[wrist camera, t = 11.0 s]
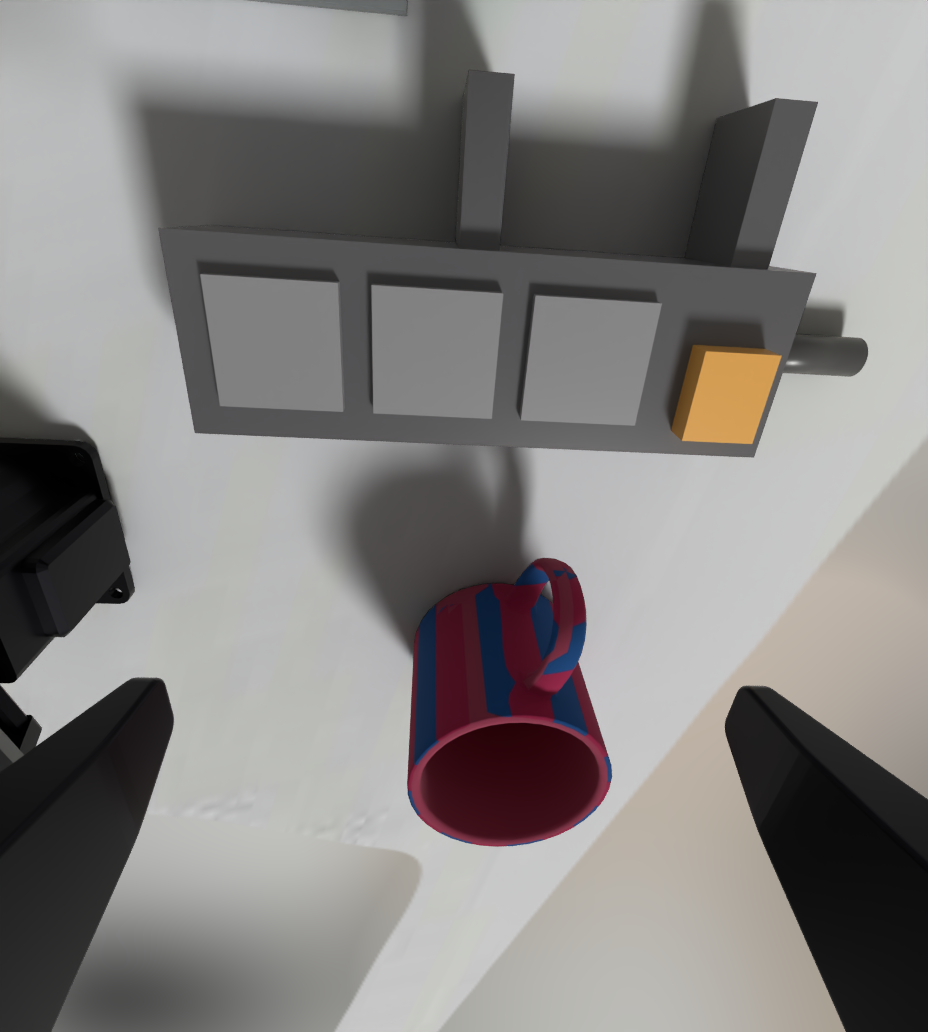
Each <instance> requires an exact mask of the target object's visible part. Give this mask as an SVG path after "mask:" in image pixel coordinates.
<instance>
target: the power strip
mask: <svg viewBox="0 0 928 1032" xmlns="http://www.w3.org/2000/svg"><path fill="white" fill-rule="evenodd" d="M514 75H515V74H509V73H498V72H487V71H476V70H469V73H468V77H467V81H466V85H465V89H464V94H463V106H462V125H461V145H460V164H459V184H458V203H457V223H456V242H445V241H431V240H416V239H402V238H388V237H373V236H359V235H345V234H330V233H316V232H302V231H288V230H273V229H259V228H245V227H230V226H216V225H207V226H188V227H169V228H159V234H160V240H161V245H162V251H163V257H164V262H165V268H166V273H167V279H168V285H169V290H170V296H171V302H172V307H173V313H174V318H175V324H176V330H177V335H178V341H179V347H180V352H181V358H182V363H183V369H184V375H185V380H186V386H187V392H188V397H189V403H190V408H191V414H192V420H193V425H194V431H195V433H206V434H228V435H251V436H274V437H297V438H320V439H343V440H366V441H389V442H412V443H435V444H458V445H480V446H503V447H526V448H549V449H572V450H595V451H618V452H641V453H664V454H687V455H710V456H732V457H754V456H755V453H756V450H757V447H758V444H759V441H760V438H761V435H762V432H763V429H764V426H765V423H766V420H767V417H768V414H769V411H770V409H771V406H772V403H773V400H774V397H775V394H776V391H777V388H778V385H779V382H780V379H781V376H782V373H795V374H813V375H831V376H853V375H855V374H857V373H858V372H859V371H860V370H861V369H862V368H863V366H864V364H865V362H866V360H867V356H868V347H867V344H866V342H865V341H864V340H863V339H861V338H852V337H835V336H819V335H802V334H796V332H797V329H798V326H799V323H800V320H801V317H802V314H803V312H804V309H805V306H806V303H807V300H808V297H809V294H810V291H811V288H812V285H813V282H814V279H815V276H816V273H810V272H804V271H797V270H791V269H785V268H778V267H772V266H769V264H770V261H771V257H772V254H773V251H774V247H775V244H776V241H777V237H778V234H779V231H780V227H781V224H782V221H783V217H784V214H785V211H786V207H787V204H788V201H789V197H790V194H791V191H792V187H793V184H794V181H795V177H796V174H797V171H798V167H799V164H800V161H801V157H802V154H803V151H804V147H805V144H806V141H807V137H808V134H809V131H810V127H811V124H812V121H813V117H814V114H815V111H816V107H817V104H818V102H811V101H801V100H790V99H779V98H775V99H773V100H770V101H767V102H764V103H761V104H758V105H755V106H752V107H749V108H746V109H743V110H740V111H737V112H734V113H731V114H728V115H725V116H722V117H719V118H717V121H716V125H715V129H714V133H713V138H712V142H711V146H710V151H709V155H708V159H707V164H706V168H705V172H704V177H703V181H702V185H701V189H700V194H699V198H698V202H697V207H696V211H695V215H694V220H693V224H692V228H691V233H690V237H689V241H688V245H687V250H686V254H685V258H674V257H659V256H645V255H631V254H617V253H602V252H588V251H574V250H559V249H545V248H531V247H516V246H502V245H500V238H501V226H502V215H503V203H504V192H505V180H506V168H507V157H508V145H509V133H510V122H511V110H512V98H513V87H514Z"/></svg>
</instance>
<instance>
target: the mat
mask: <svg viewBox="0 0 928 1032" xmlns="http://www.w3.org/2000/svg"><path fill="white" fill-rule="evenodd" d="M249 1H260V2H270V3H280V4H290V5H300V6H310V7H320V8H330V9H341V10H351V11H361V12H371V13H381V14H391V15H401V16H407V0H249Z"/></svg>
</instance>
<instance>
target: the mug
mask: <svg viewBox="0 0 928 1032" xmlns="http://www.w3.org/2000/svg"><path fill="white" fill-rule="evenodd" d="M548 581H550V584H551V589H552V596H553V603H552V602H551V601H549V600H548V599H546V598H545V597H544V596H542V595H541V594H540V593H541V591H542V590H543V588H544V586H545V584H546V583H547V582H548ZM585 635H586V608H585V601H584V597H583V593H582V589H581V586H580V583H579V581H578V578H577V576H576V574H575V573H574V571H573V570H572V568H571V567H570V566H568V565H567V564H566V563H564V562H561V561H559V560H557V559H552V558H540V559H537V560H535V561H534V562H532V563H531V564H530V565H529V566H528V567H527V568H526V570H525V571H524V572H523V573H522V574H521V576H520V577H519V579H518V580H517V582H516V583H515V585H510V584H503V583H502V584H483V585H476V586H472V587H469V588H465V589H462V590H459V591H457V592H455V593H453V594H451V595H449V596H447V597H446V598H444V599H443V600H441V601H440V602H438V603H437V604H436V605H435V606H434V607H433V608H432V609H431V610H430V611H428V613H427V614H426V615H425V617H424V618H423V620H422V621H421V623H420V625H419V627H418V629H417V632H416V636H415V641H414V656H413V677H412V698H411V718H410V739H409V760H408V781H407V786H408V796H409V799H410V802H411V805H412V807H413V809H414V810H415V812H416V813H417V815H418V816H419V817H420V818H421V819H422V820H423V821H424V822H425V823H426V824H427V825H429V826H430V827H431V828H433V829H434V830H436V831H437V832H439V833H441V834H444V835H446V836H448V837H450V838H452V839H456V840H459V841H462V842H465V843H470V844H476V845H483V846H516V845H523V844H530V843H534V842H538V841H542V840H545V839H548V838H551V837H554V836H556V835H559V834H561V833H563V832H565V831H567V830H569V829H571V828H573V827H575V826H576V825H578V824H579V823H581V822H582V821H584V820H585V819H586V818H587V817H588V816H589V815H591V814H592V813H593V812H594V811H595V810H596V809H597V807H598V806H599V805H600V804H601V802H602V801H603V800H604V798H605V796H606V794H607V792H608V790H609V787H610V783H611V779H612V769H611V763H610V760H609V757H608V754H607V750H606V747H605V744H604V741H603V738H602V735H601V732H600V728H599V725H598V722H597V719H596V716H595V713H594V710H593V707H592V703H591V700H590V697H589V694H588V691H587V688H586V685H585V681H584V678H583V675H582V672H581V669H580V666H579V663H578V661H579V658H580V656H581V653H582V649H583V646H584V642H585Z"/></svg>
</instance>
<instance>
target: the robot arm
mask: <svg viewBox="0 0 928 1032" xmlns="http://www.w3.org/2000/svg"><path fill="white" fill-rule="evenodd" d="M76 453H79V454H81V455H82V456H83V457H84V459H85V462H83V461H81V460H79V459H78V458H77V456H76ZM129 564H130V558H129V554H128V550H127V547H126V543H125V539H124V535H123V532H122V528H121V524H120V521H119V517H118V513H117V509H116V506H115V505H114V504H113V503H112V501H111V498H110V495H109V491H108V487H107V484H106V480H105V476H104V473H103V469H102V465H101V461H100V458H99V455H98V453H97V451H96V449H95V448H94V447H93V446H91V445H90V444H88V443H86V442H81V441H64V440H41V439H17V438H0V683H13V682H15V681H16V680H17V679H18V678H19V677H20V676H21V674H22V673H23V672H24V671H25V670H26V669H27V668H28V667H29V666H30V664H31V663H32V662H33V661H34V660H35V659H36V658H37V657H38V655H39V654H40V653H41V652H42V651H43V650H44V649H45V648H46V647H47V645H48V644H49V643H50V642H51V641H52V640H53V639H54V638H55V637H65V636H67V635H68V634H69V633H70V632H71V631H72V630H73V629H74V628H75V626H76V625H77V624H78V623H79V622H80V621H81V620H82V618H83V617H84V616H85V615H86V614H87V613H88V611H89V610H90V609H91V608H92V607H93V606H94V605H95V603H109V604H121V603H125V602H127V601H128V600H129V599H130V597H131V596H132V595H133V593H134V592H135V587H134V583H133V580H132V576H131V572H130V569H129ZM115 588H118V589H120V590H121V591H122V592H119V591H117V590H116V589H115ZM173 725H174V716H173V711H172V708H171V704H170V700H169V696H168V693H167V689H166V685H165V683H164V681H163V680H162V679H160V678H132V679H130V680H128V681H127V682H125V683H124V684H122V685H121V686H120V687H118V688H117V689H115V690H114V691H113V692H111V693H110V694H108V695H107V696H106V697H104V698H103V699H102V700H100V701H99V702H97V703H96V704H95V705H93V706H92V707H90V708H89V709H88V710H86V711H85V712H83V713H82V714H81V715H79V716H78V717H76V718H75V719H74V720H72V721H71V722H69V723H68V724H67V725H65V726H64V727H63V728H61V729H60V730H58V731H57V732H56V733H54V734H53V735H51V736H50V737H49V738H47V739H46V740H44V741H43V742H42V743H40V744H39V745H37V746H36V744H37V741H38V739H39V736H40V733H41V730H42V727H41V726H40V725H39V724H38V722H37V721H36V720H35V719H34V718H33V717H32V716H31V715H26V714H25V713H24V712H23V711H22V710H21V709H20V707H19V706H18V705H17V704H16V703H15V701H14V700H13V699H12V698H11V697H10V696H9V694H8V693H7V692H6V691H5V690H4V688H3V687H2V686H1V685H0V1032H51V1031H52V1029H53V1027H54V1024H55V1022H56V1020H57V1018H58V1015H59V1013H60V1011H61V1009H62V1006H63V1004H64V1002H65V1000H66V997H67V995H68V993H69V990H70V988H71V986H72V984H73V982H74V979H75V977H76V975H77V973H78V970H79V968H80V966H81V964H82V961H83V959H84V957H85V954H86V952H87V950H88V948H89V945H90V943H91V941H92V939H93V936H94V934H95V932H96V929H97V927H98V925H99V923H100V920H101V918H102V916H103V914H104V912H105V909H106V907H107V905H108V903H109V900H110V898H111V896H112V894H113V891H114V889H115V887H116V885H117V882H118V880H119V878H120V875H121V873H122V871H123V869H124V867H125V864H126V862H127V860H128V858H129V855H130V853H131V851H132V848H133V846H134V843H135V841H136V839H137V836H138V834H139V831H140V828H141V825H142V822H143V820H144V816H145V814H146V811H147V808H148V805H149V801H150V798H151V795H152V792H153V789H154V786H155V783H156V780H157V777H158V774H159V771H160V768H161V765H162V762H163V759H164V755H165V752H166V749H167V746H168V743H169V740H170V737H171V734H172V730H173ZM725 733H726V737H727V740H728V743H729V746H730V749H731V752H732V755H733V758H734V761H735V765H736V768H737V770H738V774H739V777H740V780H741V783H742V786H743V789H744V792H745V795H746V798H747V801H748V804H749V807H750V810H751V813H752V816H753V819H754V821H755V824H756V827H757V830H758V832H759V835H760V837H761V839H762V842H763V844H764V847H765V849H766V851H767V854H768V856H769V858H770V860H771V863H772V865H773V867H774V869H775V872H776V874H777V876H778V879H779V881H780V883H781V885H782V888H783V890H784V892H785V894H786V897H787V899H788V901H789V904H790V906H791V908H792V910H793V912H794V915H795V917H796V920H797V922H798V924H799V926H800V929H801V931H802V933H803V935H804V938H805V940H806V942H807V945H808V947H809V949H810V951H811V953H812V956H813V958H814V960H815V963H816V965H817V967H818V970H819V972H820V974H821V976H822V978H823V981H824V983H825V985H826V988H827V990H828V992H829V995H830V997H831V999H832V1001H833V1004H834V1006H835V1008H836V1011H837V1013H838V1015H839V1017H840V1020H841V1022H842V1024H843V1026H844V1029H845V1031H846V1032H928V799H927V798H925V797H924V796H922V795H921V794H919V793H918V792H917V791H915V790H914V789H912V788H911V787H909V786H908V785H907V784H905V783H904V782H903V781H901V780H900V779H898V778H897V777H895V776H894V775H893V774H891V773H890V772H888V771H887V770H885V769H884V768H883V767H881V766H880V765H879V764H877V763H876V762H874V761H873V760H871V759H870V758H869V757H867V756H866V755H865V754H863V753H862V752H860V751H859V750H857V749H856V748H855V747H853V746H852V745H850V744H849V743H848V742H846V741H845V740H843V739H842V738H840V737H839V736H838V735H836V734H835V733H834V732H832V731H830V730H829V729H828V728H826V727H825V726H823V725H822V724H821V723H819V722H818V721H816V720H815V719H814V718H812V717H811V716H810V715H808V714H807V713H805V712H804V711H802V710H801V709H800V708H798V707H797V706H795V705H794V704H793V703H791V702H790V701H788V700H787V699H786V698H784V697H783V696H781V695H780V694H778V693H777V692H776V691H774V690H773V689H771V688H769V687H766V686H743V687H741V688H740V689H739V690H738V692H737V694H736V696H735V699H734V701H733V704H732V706H731V708H730V711H729V713H728V716H727V718H726V721H725Z"/></svg>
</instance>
